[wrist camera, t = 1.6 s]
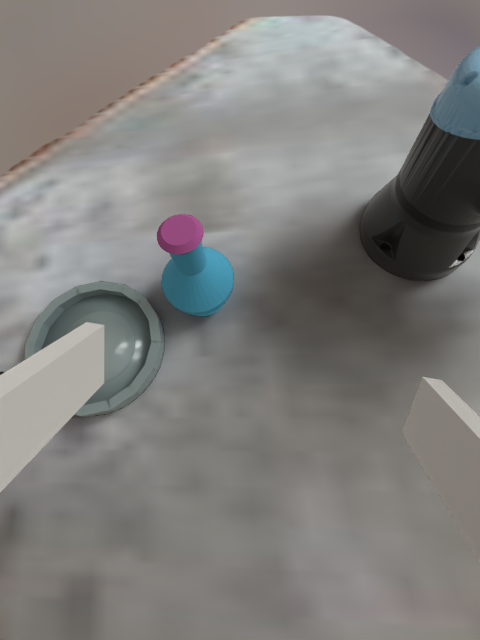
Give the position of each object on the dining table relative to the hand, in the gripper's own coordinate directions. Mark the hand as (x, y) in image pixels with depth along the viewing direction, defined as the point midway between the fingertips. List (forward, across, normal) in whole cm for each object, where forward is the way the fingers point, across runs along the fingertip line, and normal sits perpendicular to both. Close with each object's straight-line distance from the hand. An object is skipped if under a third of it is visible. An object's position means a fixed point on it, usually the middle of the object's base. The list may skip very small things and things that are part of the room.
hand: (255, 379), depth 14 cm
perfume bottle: (+32, -8, -6) cm, 33 cm away
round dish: (+26, -20, -14) cm, 36 cm away
